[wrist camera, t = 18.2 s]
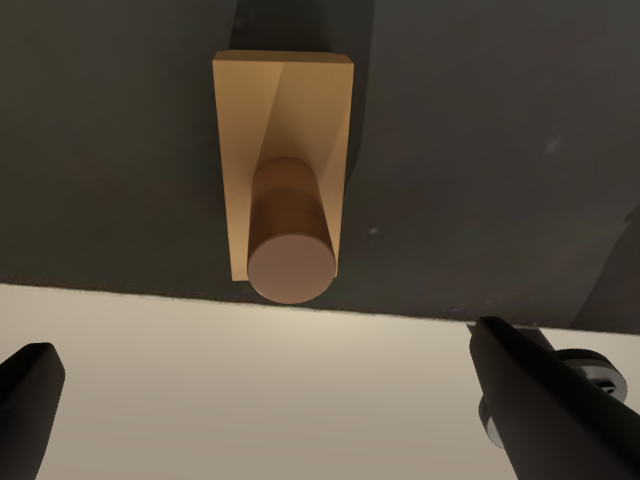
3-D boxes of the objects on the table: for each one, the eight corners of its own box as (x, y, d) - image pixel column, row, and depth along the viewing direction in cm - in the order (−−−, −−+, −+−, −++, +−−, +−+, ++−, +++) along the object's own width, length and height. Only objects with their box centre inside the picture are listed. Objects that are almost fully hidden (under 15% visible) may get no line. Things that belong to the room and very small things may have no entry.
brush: (327, 237, 21) (358, 372, 14) (236, 239, 20) (221, 380, 13) (339, 46, 16) (395, 109, 9) (221, 42, 15) (185, 106, 8)
